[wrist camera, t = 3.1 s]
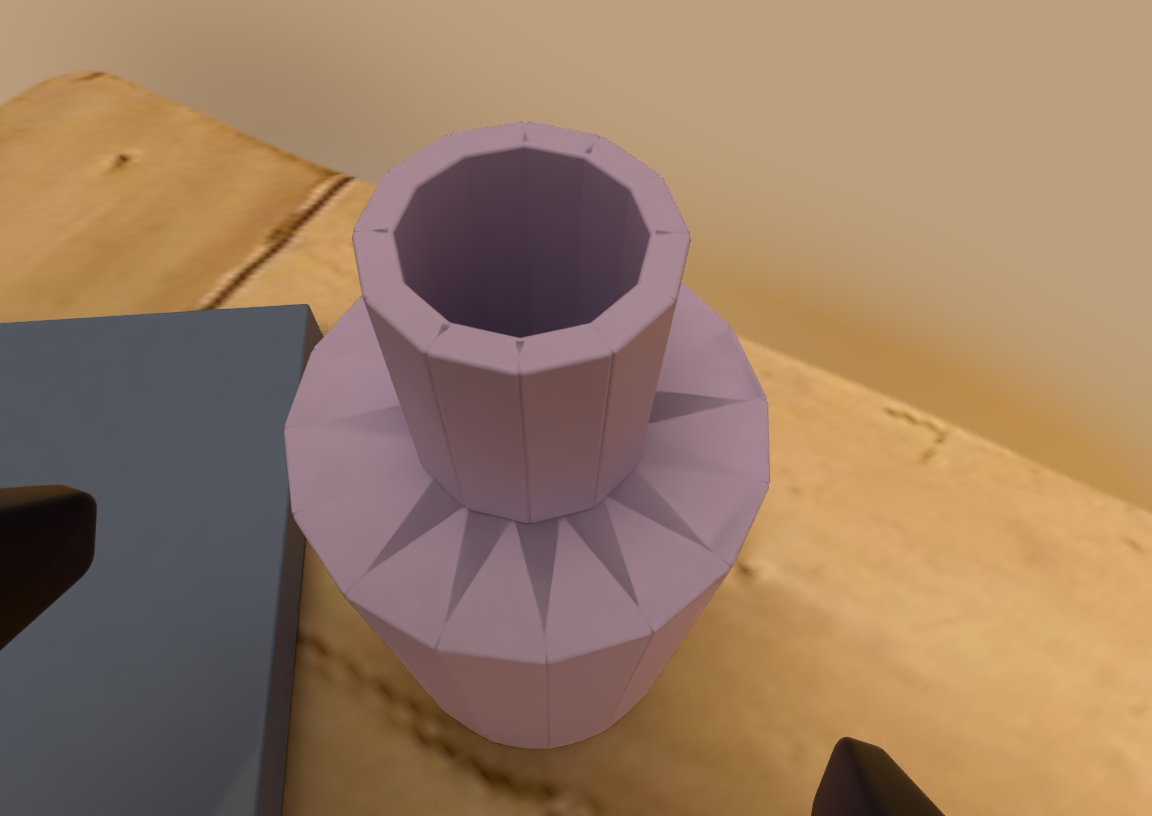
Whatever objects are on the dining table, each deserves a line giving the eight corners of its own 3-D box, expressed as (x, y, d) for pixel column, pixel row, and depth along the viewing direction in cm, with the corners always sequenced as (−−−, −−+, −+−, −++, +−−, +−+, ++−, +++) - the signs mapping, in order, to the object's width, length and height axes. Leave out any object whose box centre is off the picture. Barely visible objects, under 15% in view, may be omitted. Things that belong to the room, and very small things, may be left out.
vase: (706, 703, 18) (1007, 444, 6) (436, 787, 17) (164, 671, 5) (623, 465, 21) (713, -4, 9) (391, 523, 20) (163, 74, 8)
